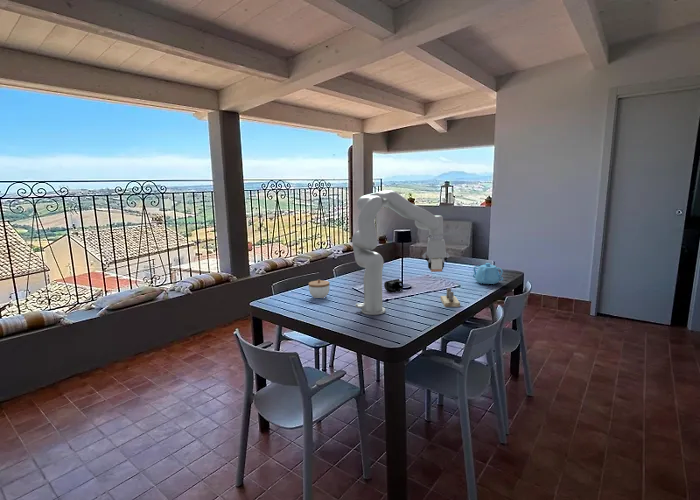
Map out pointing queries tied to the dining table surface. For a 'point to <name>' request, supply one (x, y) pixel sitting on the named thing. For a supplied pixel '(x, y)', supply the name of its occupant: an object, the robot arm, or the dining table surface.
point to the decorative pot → (487, 274)
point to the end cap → (393, 285)
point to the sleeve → (436, 265)
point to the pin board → (450, 304)
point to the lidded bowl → (319, 288)
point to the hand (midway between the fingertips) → (436, 268)
